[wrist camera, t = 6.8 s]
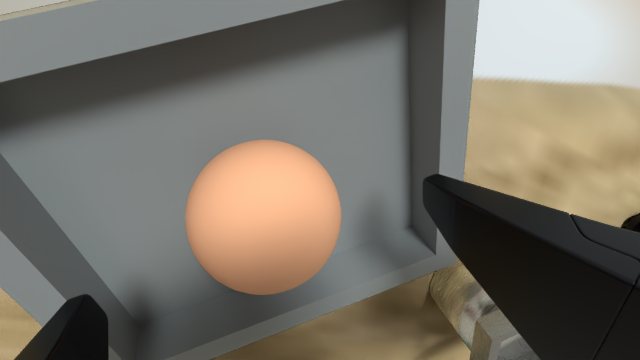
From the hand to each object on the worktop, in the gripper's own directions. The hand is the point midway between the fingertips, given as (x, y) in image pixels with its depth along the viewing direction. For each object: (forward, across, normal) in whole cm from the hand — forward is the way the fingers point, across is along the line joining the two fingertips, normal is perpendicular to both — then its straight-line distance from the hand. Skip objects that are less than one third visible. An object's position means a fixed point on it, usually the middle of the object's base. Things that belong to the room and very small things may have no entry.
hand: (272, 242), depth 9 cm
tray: (+4, 0, 0) cm, 4 cm away
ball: (+3, 0, 0) cm, 3 cm away
